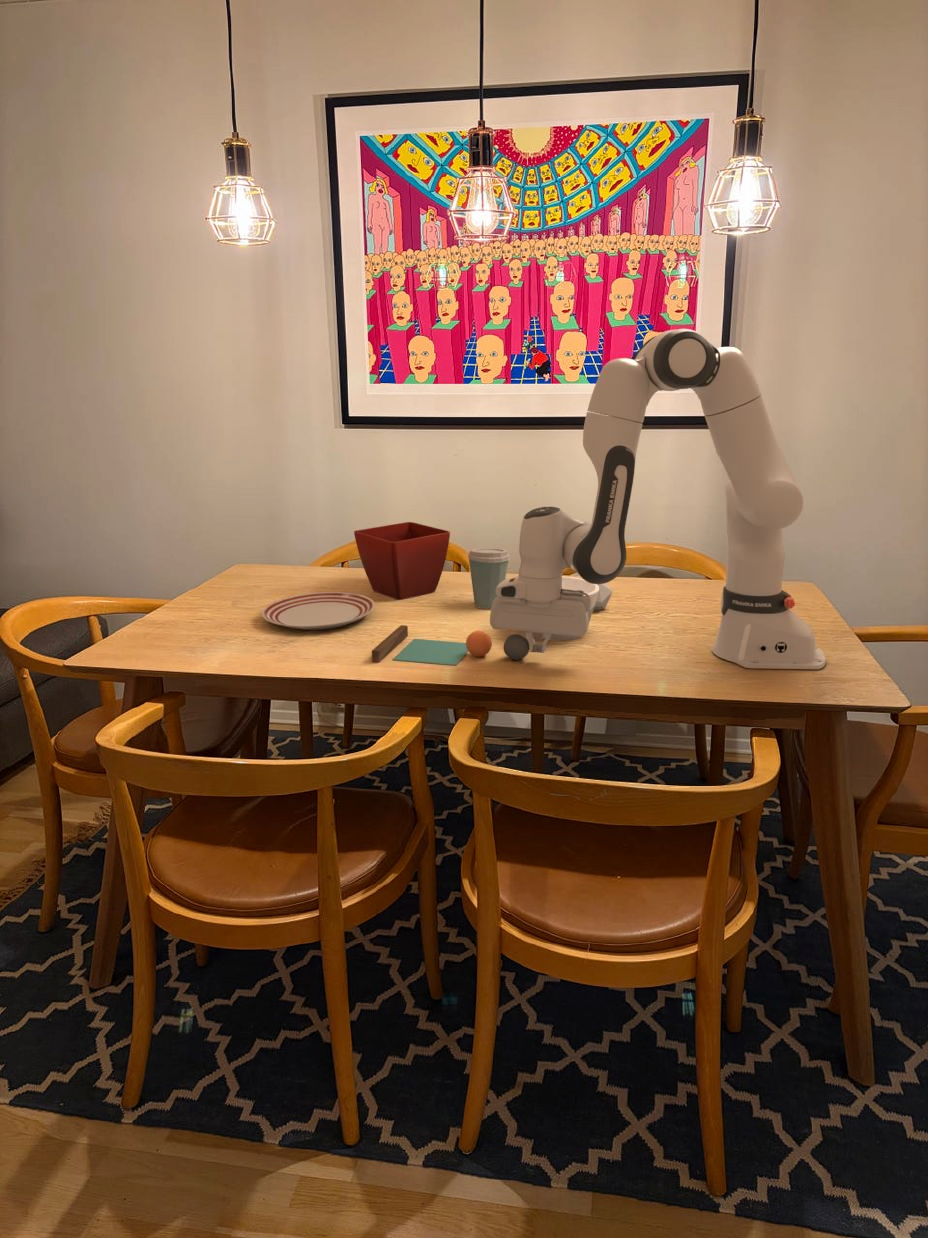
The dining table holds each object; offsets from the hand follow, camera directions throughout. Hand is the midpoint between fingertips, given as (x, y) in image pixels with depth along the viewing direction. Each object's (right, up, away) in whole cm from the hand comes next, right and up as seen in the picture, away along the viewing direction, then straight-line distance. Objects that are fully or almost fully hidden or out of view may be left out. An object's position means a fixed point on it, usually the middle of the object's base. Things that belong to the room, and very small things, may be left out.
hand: (538, 651), depth 175 cm
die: (+17, +9, +37) cm, 42 cm away
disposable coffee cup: (-9, +10, +40) cm, 42 cm away
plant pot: (-32, +14, +55) cm, 65 cm away
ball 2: (-4, +1, +1) cm, 5 cm away
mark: (-22, 0, +7) cm, 23 cm away
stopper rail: (-31, 0, +10) cm, 33 cm away
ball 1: (-12, +2, +4) cm, 13 cm away
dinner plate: (-51, +7, +32) cm, 61 cm away
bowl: (+6, +4, +20) cm, 22 cm away
